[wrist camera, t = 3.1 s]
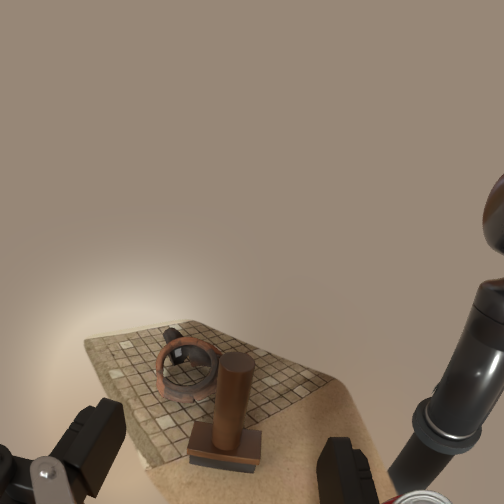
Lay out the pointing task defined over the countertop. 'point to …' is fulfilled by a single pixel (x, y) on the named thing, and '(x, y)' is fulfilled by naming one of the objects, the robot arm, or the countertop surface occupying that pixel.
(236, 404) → the brush
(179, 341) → the pottery mug
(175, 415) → the countertop surface
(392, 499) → the beverage can
